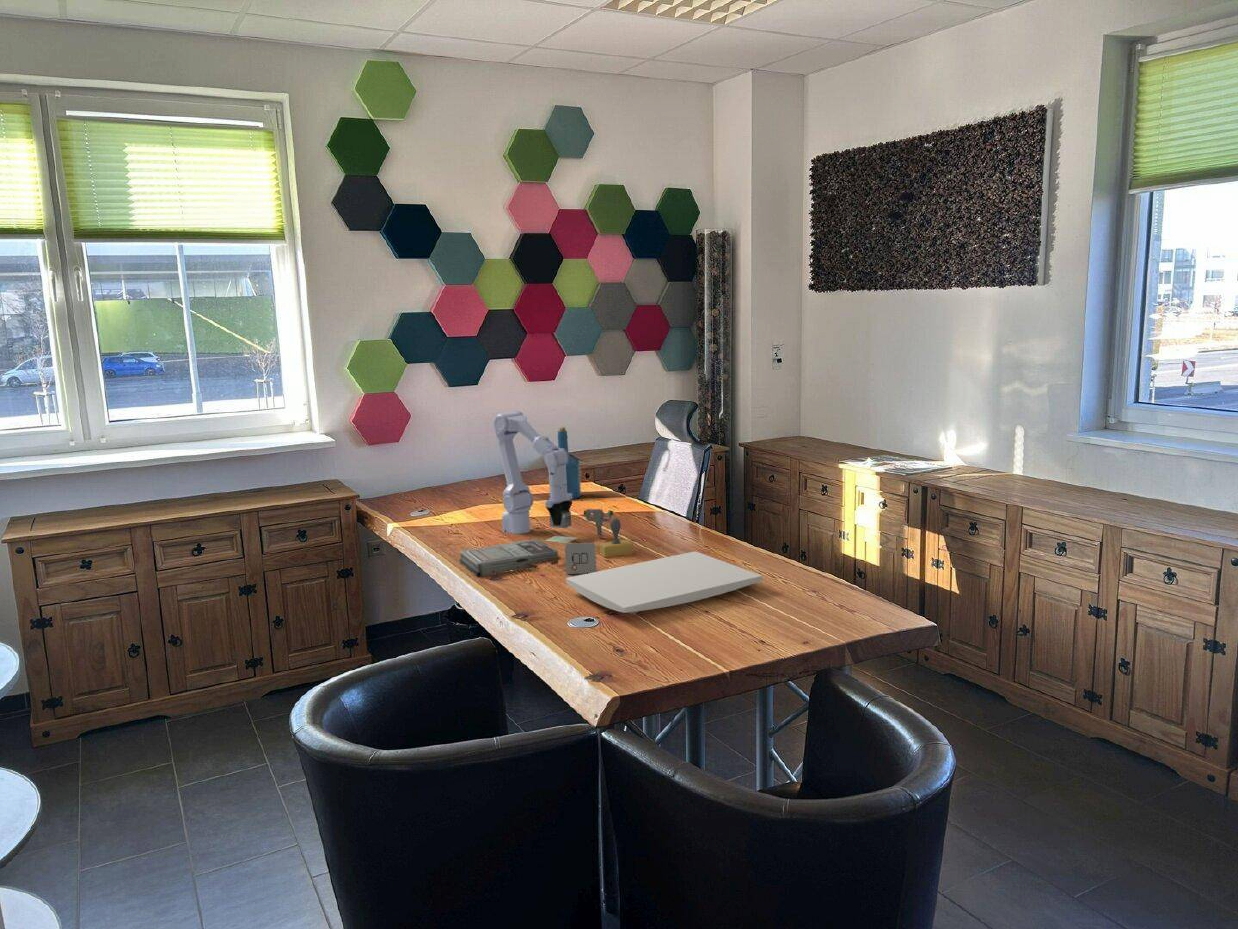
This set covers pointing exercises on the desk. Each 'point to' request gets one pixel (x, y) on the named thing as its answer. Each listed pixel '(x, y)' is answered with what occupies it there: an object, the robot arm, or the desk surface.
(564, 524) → the block
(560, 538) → the stand
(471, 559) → the hard drive
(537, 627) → the desk surface
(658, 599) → the board
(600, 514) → the mechanical component
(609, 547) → the rubber stamp
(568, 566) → the electrical switch
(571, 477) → the wine bottle
